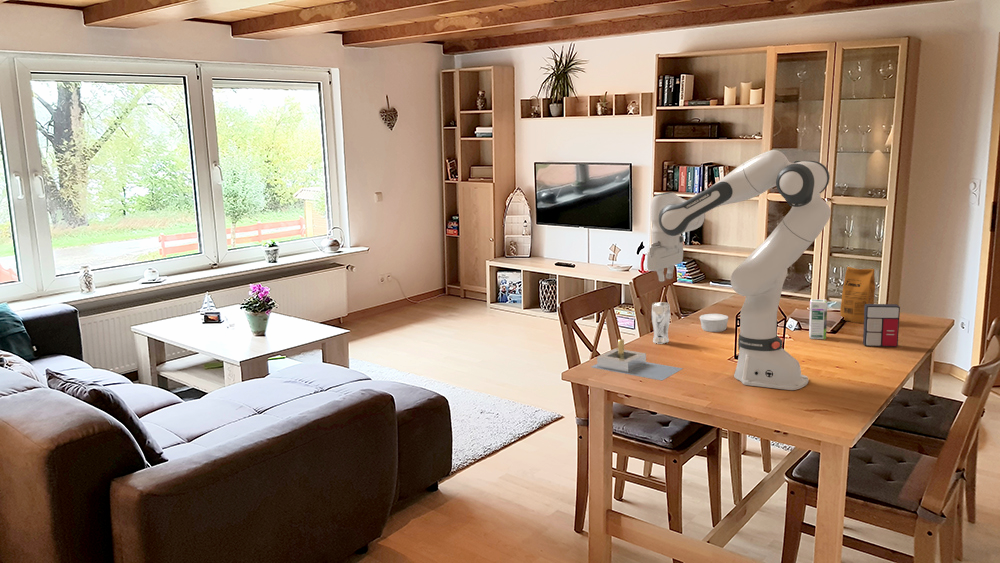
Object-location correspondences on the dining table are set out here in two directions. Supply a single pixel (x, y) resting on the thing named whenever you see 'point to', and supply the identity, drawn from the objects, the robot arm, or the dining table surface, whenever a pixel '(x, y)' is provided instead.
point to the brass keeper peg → (621, 348)
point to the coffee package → (857, 293)
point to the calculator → (881, 325)
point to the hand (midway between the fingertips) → (665, 279)
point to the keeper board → (650, 371)
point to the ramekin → (714, 322)
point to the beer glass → (660, 322)
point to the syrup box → (818, 319)
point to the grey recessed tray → (621, 360)
